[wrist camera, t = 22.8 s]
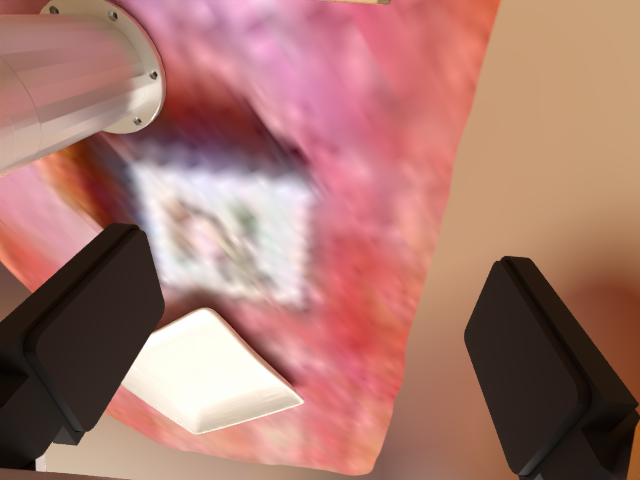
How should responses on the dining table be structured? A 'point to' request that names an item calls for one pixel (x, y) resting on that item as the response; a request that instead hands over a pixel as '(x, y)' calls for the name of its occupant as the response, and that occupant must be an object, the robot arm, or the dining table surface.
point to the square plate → (206, 375)
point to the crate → (363, 1)
